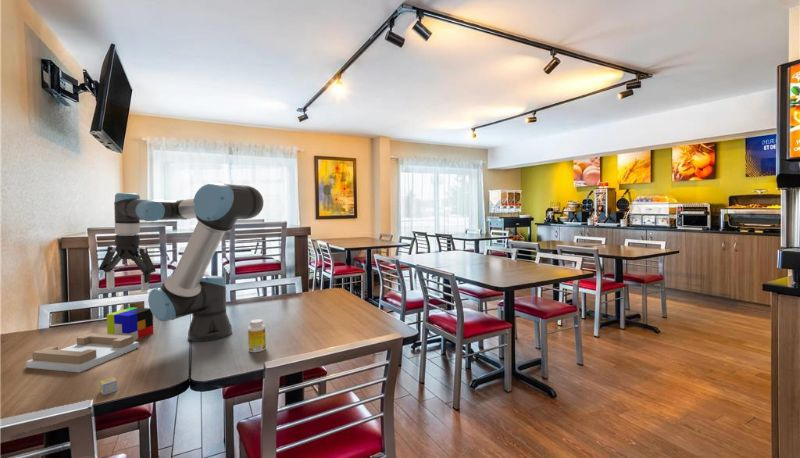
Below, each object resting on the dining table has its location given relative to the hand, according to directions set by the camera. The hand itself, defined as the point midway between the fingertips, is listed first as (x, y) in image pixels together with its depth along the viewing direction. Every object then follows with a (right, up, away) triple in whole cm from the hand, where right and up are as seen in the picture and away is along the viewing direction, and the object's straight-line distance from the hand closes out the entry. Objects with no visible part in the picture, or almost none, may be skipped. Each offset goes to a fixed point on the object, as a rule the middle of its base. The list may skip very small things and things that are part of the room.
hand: (127, 289), depth 137 cm
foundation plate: (-1, -19, -17) cm, 26 cm away
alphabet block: (+25, -21, -40) cm, 52 cm away
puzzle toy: (0, -19, +2) cm, 19 cm away
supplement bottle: (+54, -19, -12) cm, 59 cm away
